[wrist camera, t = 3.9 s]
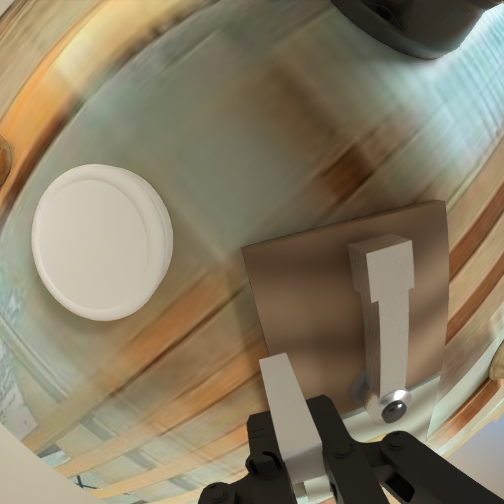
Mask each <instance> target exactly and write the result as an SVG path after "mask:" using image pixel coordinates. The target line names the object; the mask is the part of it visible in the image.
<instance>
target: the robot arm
mask: <svg viewBox="0 0 504 504" xmlns="http://www.w3.org/2000/svg"><path fill="white" fill-rule="evenodd" d="M332 1H333V3H334V4H335V5H336V6H337V7H338V8H339V9H340V10H341V11H342V12H343V13H344V14H345V15H346V16H347V17H348V18H350V19H351V20H352V21H353V22H354V23H356V24H357V25H358V26H359V27H361V28H362V29H363V30H365V31H366V32H367V33H369V34H370V35H372V36H373V37H375V38H376V39H378V40H380V41H381V42H383V43H385V44H386V45H388V46H390V47H392V48H394V49H396V50H398V51H401V52H403V53H406V54H408V55H411V56H415V57H419V58H425V59H434V58H439V57H442V56H444V55H446V54H448V53H450V52H452V51H453V50H455V49H457V48H458V47H459V46H460V45H461V44H462V43H463V41H464V39H465V38H466V37H467V35H468V34H469V33H470V31H471V30H472V29H473V27H474V26H475V25H476V23H477V22H478V20H479V19H480V17H481V16H482V14H483V13H484V12H485V11H487V10H489V9H491V8H493V7H495V6H497V5H499V4H501V3H504V0H332ZM259 363H260V368H261V372H262V377H263V381H264V385H265V390H266V394H267V398H268V403H269V407H270V410H269V411H265V412H261V413H257V414H252V415H250V416H249V419H248V421H247V423H246V424H247V432H248V439H249V447H250V455H249V457H248V458H247V460H246V464H245V466H246V468H247V470H248V472H249V473H248V474H247V475H246V476H245V477H244V478H242V479H240V480H238V481H236V482H234V483H231V484H227V483H223V482H216V483H212V484H210V485H208V486H207V487H205V488H204V489H203V491H202V493H201V495H200V498H199V501H198V504H297V500H296V496H295V493H294V490H293V487H292V484H296V483H300V482H304V481H307V480H311V479H314V478H318V477H321V476H324V475H326V474H327V476H328V479H329V486H330V492H332V493H333V496H334V499H335V501H336V504H390V503H389V501H388V499H387V497H386V495H385V493H384V492H383V490H382V488H381V486H380V484H381V485H382V486H383V487H384V488H385V489H386V490H387V491H388V492H389V493H390V494H391V495H392V496H393V497H395V498H396V499H397V500H398V501H399V502H400V503H401V504H504V500H503V499H502V498H500V497H499V496H497V495H495V494H494V493H492V492H491V491H489V490H488V489H486V488H485V487H483V486H482V485H481V484H479V483H477V482H476V481H475V480H473V479H472V478H470V477H469V476H467V475H466V474H465V473H463V472H462V471H460V470H459V469H457V468H456V467H455V466H453V465H452V464H450V463H449V462H448V461H446V460H445V459H444V458H442V457H441V456H439V455H438V454H437V453H435V452H434V451H433V450H431V449H430V448H429V447H427V446H426V445H425V444H423V443H422V442H421V441H419V440H418V439H417V438H415V437H414V436H413V435H411V434H410V433H408V432H406V431H401V430H398V431H392V432H390V433H388V434H387V435H386V436H385V437H384V438H383V439H382V441H376V442H368V443H364V442H359V441H356V440H354V439H353V438H352V437H351V436H350V434H349V432H348V430H347V428H346V426H345V425H344V423H343V421H342V419H341V417H340V415H339V413H338V411H337V409H336V408H335V405H334V403H333V402H332V400H331V399H330V398H329V397H327V396H326V395H324V394H323V395H320V396H316V397H313V398H310V399H307V400H305V399H304V397H303V394H302V392H301V389H300V387H299V384H298V382H297V379H296V377H295V374H294V371H293V369H292V366H291V364H290V361H289V359H288V356H287V354H286V353H282V354H279V355H275V356H271V357H267V358H264V359H260V360H259ZM379 483H380V484H379Z"/></svg>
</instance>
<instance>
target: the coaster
mask: <svg viewBox="0 0 504 504" xmlns="http://www.w3.org/2000/svg"><path fill="white" fill-rule="evenodd" d="M31 246H32V253H33V258H34V262H35V265H36V268H37V271H38V273H39V275H40V277H41V279H42V281H43V283H44V285H45V286H46V288H47V289H48V291H49V292H50V293H51V294H52V296H53V297H54V298H55V299H56V300H57V301H58V302H59V303H60V304H61V305H63V306H64V307H65V308H67V309H68V310H70V311H71V312H73V313H75V314H77V315H79V316H81V317H84V318H87V319H90V320H96V321H112V320H117V319H120V318H123V317H126V316H129V315H131V314H132V313H134V312H136V311H137V310H139V309H140V308H141V307H142V306H143V305H144V304H146V303H147V302H148V300H149V299H150V298H151V296H152V295H153V294H154V292H155V290H156V289H157V288H158V286H159V285H160V283H161V282H162V280H163V278H164V277H165V275H166V273H167V270H168V268H169V265H170V262H171V258H172V252H173V229H172V224H171V220H170V217H169V214H168V211H167V209H166V207H165V204H164V202H163V201H162V199H161V198H160V196H159V194H158V193H157V192H156V191H155V189H154V188H153V187H152V186H151V185H150V184H149V183H148V182H147V181H146V180H144V179H143V178H141V177H140V176H138V175H137V174H135V173H133V172H131V171H129V170H126V169H123V168H119V167H114V166H108V165H102V164H87V165H82V166H78V167H75V168H73V169H70V170H68V171H67V172H65V173H63V174H62V175H60V176H59V177H58V178H57V179H55V180H54V181H53V182H52V183H51V184H50V185H49V187H48V188H47V189H46V191H45V192H44V193H43V195H42V197H41V199H40V201H39V203H38V205H37V208H36V211H35V214H34V218H33V223H32V230H31Z"/></svg>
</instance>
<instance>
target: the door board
mask: <svg viewBox="0 0 504 504" xmlns="http://www.w3.org/2000/svg"><path fill="white" fill-rule="evenodd" d="M389 233H390V234H394V235H397V236H400V237H403V238H407V239H410V240H412V250H413V265H414V288H411V289H408V297H409V333H408V357H407V372H406V383H405V388H406V390H407V391H408V392H409V393H410V394H411V396H412V402H411V405H410V407H409V408H408V410H407V411H406V413H405V414H404V415H403V416H402V417H401V418H400V419H399V420H398V421H396V422H394V423H390V424H388V425H384V426H377V425H375V424H374V423H373V422H372V420H371V418H370V417H369V415H368V414H367V412H366V410H365V409H364V407H363V405H362V404H361V402H360V400H359V398H358V393H359V390H360V388H361V386H362V385H363V383H364V382H365V381H366V353H365V335H364V321H363V309H362V299H361V294H359V293H358V292H357V291H356V290H354V288H353V280H352V272H351V265H350V258H349V251H348V245H349V244H353V243H356V242H360V241H364V240H367V239H371V238H374V237H378V236H382V235H385V234H389ZM241 248H242V252H243V256H244V260H245V264H246V268H247V272H248V276H249V280H250V284H251V287H252V291H253V295H254V299H255V303H256V307H257V311H258V314H259V318H260V322H261V326H262V330H263V334H264V337H265V341H266V345H267V349H268V353H269V356H270V357H271V356H275V355H279V354H282V353H286V354H287V356H288V359H289V361H290V364H291V366H292V369H293V371H294V374H295V377H296V379H297V382H298V384H299V387H300V389H301V392H302V394H303V397H304V399H305V400H307V399H310V398H313V397H316V396H320V395H323V394H324V395H326V396H327V397H329V398H330V399H331V400H332V402H333V403H334V405H335V408H336V409H337V411H338V413H339V415H340V417H341V419H342V421H343V423H344V425H345V426H346V428H347V430H348V432H349V434H350V436H351V437H352V438H353V439H354V440H356V441H359V442H364V443H368V442H376V441H382V439H383V438H384V437H385V436H386V435H387V434H388V433H390V432H392V431H398V430H401V431H406V432H408V433H410V434H411V435H413V436H414V437H415V438H417V439H418V440H419V441H421V442H422V443H423V444H424V442H425V438H426V435H427V432H428V428H429V424H430V421H431V417H432V413H433V409H434V404H435V400H436V395H437V390H438V385H439V380H440V375H439V374H438V373H437V372H438V371H440V370H441V368H442V362H443V355H444V348H445V339H446V329H447V317H448V300H449V246H448V229H447V217H446V207H445V201H440V200H431V201H426V202H422V203H418V204H414V205H410V206H406V207H402V208H397V209H393V210H389V211H385V212H381V213H377V214H373V215H369V216H365V217H361V218H357V219H352V220H348V221H344V222H340V223H336V224H332V225H328V226H324V227H320V228H316V229H312V230H308V231H304V232H300V233H296V234H292V235H288V236H284V237H280V238H276V239H272V240H268V241H264V242H260V243H256V244H252V245H248V246H245V247H241ZM304 485H305V489H306V493H307V496H308V500H309V502H310V501H314V500H317V499H321V498H324V497H328V496H331V495H333V493H332V492H330V486H329V479H328V476H327V474H326V475H324V476H321V477H318V478H314V479H311V480H307V481H304Z"/></svg>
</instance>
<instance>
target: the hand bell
mask: <svg viewBox="0 0 504 504" xmlns="http://www.w3.org/2000/svg"><path fill="white" fill-rule="evenodd" d="M489 378H490V379H491V380H499V379H504V341H503V342H502V344H501V345H500V347H499V349H498V350H497V352H496V354H495V356H494V358H493V360H492V363H491V366H490V369H489Z"/></svg>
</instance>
